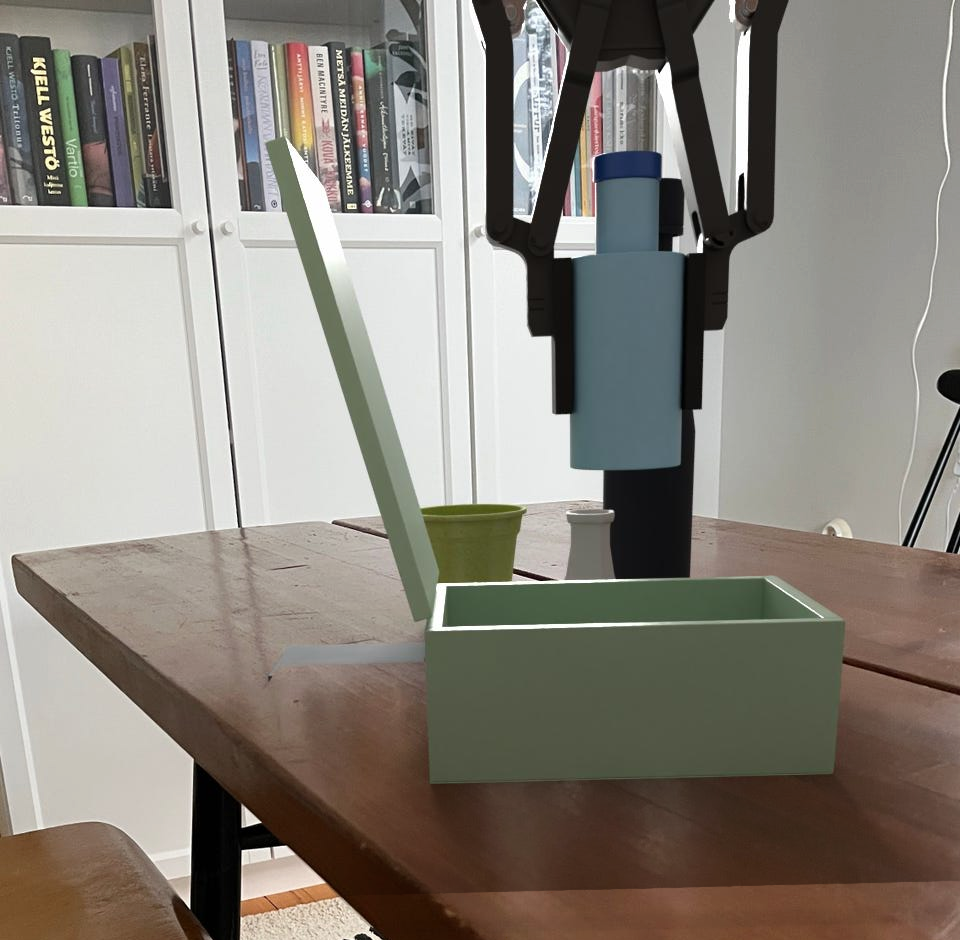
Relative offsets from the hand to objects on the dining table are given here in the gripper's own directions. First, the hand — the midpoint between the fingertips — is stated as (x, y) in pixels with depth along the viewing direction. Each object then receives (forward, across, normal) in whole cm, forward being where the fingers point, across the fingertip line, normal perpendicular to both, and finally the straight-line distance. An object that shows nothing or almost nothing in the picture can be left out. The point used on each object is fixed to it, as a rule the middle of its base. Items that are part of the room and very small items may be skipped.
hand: (625, 410), depth 59 cm
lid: (-1, -12, 0) cm, 12 cm away
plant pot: (+17, -8, +39) cm, 43 cm away
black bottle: (+17, +5, +31) cm, 36 cm away
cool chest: (+17, 0, 0) cm, 17 cm away
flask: (+17, 0, +21) cm, 27 cm away
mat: (+16, -16, +23) cm, 32 cm away
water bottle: (+2, 0, 0) cm, 2 cm away
